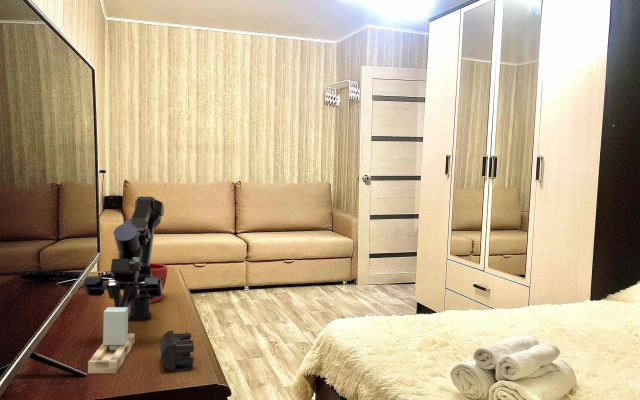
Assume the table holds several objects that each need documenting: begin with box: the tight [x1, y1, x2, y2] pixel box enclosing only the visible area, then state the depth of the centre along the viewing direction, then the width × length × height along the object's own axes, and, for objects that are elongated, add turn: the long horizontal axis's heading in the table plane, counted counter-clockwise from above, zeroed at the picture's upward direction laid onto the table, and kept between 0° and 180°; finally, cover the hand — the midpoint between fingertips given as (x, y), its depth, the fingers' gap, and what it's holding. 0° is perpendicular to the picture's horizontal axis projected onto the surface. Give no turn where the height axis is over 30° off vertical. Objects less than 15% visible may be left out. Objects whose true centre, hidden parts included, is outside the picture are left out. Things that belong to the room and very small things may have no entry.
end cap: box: [159, 329, 195, 373], centre depth 125 cm, size 10×7×7 cm
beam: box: [87, 332, 136, 374], centre depth 127 cm, size 20×6×3 cm, turn 8°
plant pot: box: [149, 262, 168, 303], centre depth 180 cm, size 13×13×12 cm
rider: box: [102, 306, 129, 350], centre depth 129 cm, size 4×5×10 cm
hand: (118, 315), depth 131 cm, fingers closed, pressing on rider
